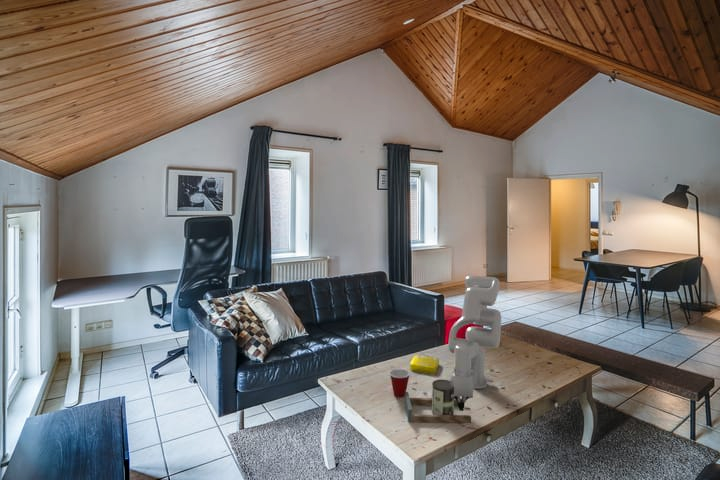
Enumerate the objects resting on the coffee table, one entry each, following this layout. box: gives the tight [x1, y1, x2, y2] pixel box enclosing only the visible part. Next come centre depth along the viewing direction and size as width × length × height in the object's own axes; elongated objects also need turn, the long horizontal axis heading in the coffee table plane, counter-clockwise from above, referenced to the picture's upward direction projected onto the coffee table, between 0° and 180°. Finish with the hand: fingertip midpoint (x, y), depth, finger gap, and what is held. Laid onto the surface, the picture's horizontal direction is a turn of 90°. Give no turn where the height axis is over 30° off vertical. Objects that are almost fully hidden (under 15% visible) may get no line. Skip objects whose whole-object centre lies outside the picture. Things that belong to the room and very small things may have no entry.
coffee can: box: [431, 378, 455, 415], centre depth 180 cm, size 10×10×14 cm
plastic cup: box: [388, 368, 411, 398], centre depth 196 cm, size 11×11×12 cm
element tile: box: [409, 354, 440, 375], centre depth 229 cm, size 15×15×5 cm
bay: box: [404, 391, 472, 424], centre depth 180 cm, size 28×16×6 cm, turn 89°
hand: (460, 409), depth 180 cm, fingers closed
